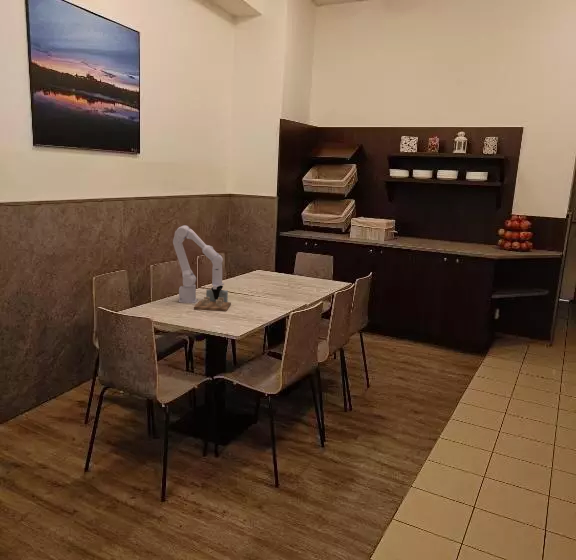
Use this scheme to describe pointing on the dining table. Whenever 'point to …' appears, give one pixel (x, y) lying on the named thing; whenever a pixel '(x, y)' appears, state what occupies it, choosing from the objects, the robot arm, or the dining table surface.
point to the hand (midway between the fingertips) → (217, 298)
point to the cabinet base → (212, 305)
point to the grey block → (221, 295)
